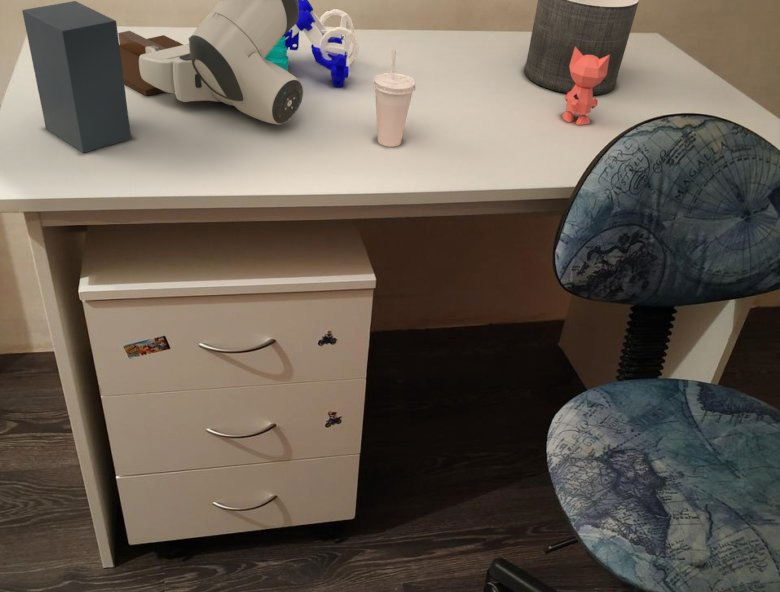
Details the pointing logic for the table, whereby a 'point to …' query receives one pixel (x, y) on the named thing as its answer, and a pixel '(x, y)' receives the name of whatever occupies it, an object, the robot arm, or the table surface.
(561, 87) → the planter
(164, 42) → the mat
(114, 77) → the stand
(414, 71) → the table surface
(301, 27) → the robot toy
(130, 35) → the brown wooden bar
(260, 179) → the table surface
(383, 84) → the smoothie
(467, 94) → the table surface
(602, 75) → the cat figurine
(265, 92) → the robot arm
